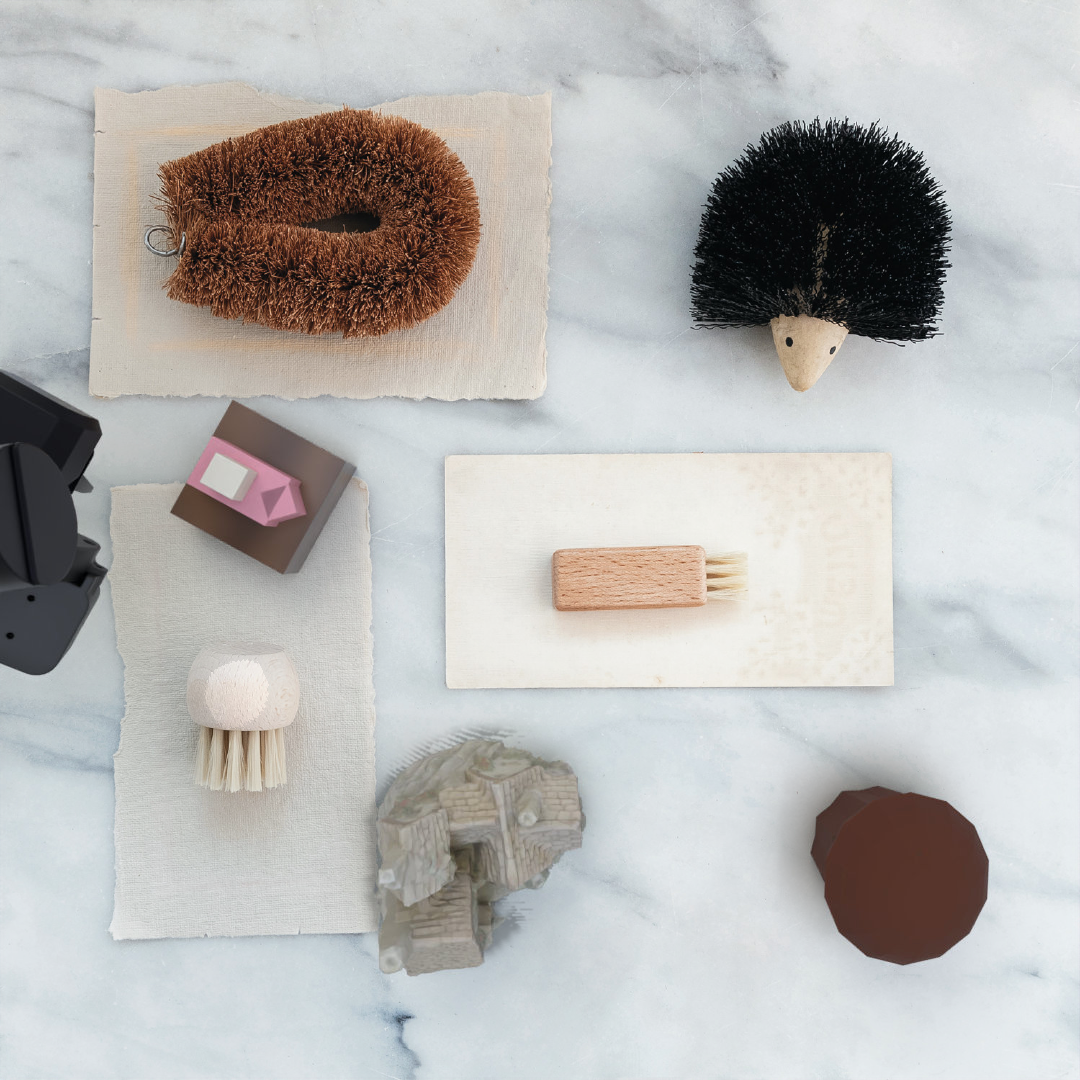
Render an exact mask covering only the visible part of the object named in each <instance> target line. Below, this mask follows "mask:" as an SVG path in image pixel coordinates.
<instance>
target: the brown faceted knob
mask: <svg viewBox="0 0 1080 1080" xmlns="http://www.w3.org/2000/svg"><path fill="white" fill-rule="evenodd" d="M814 830H815V831H814V838H813V841H812V846H811V849H810V855H811V857H812V860H813V861H814V863H815V865H816V868H817V869H818V872H819V874H820V876H821V878H822V881H823V882H824V891H823V898H824V900H825V903H826V905H827V907H828V910H829V913H830V915H831V917H832V920H833V922H834V924H835V927H836V929H837V931H838V933H839V934H840V935H841V936H842V937H844V938H845V939H846V940H847V941H848V942H849V943H850V944H852V945H853V946H854V947H855V948H856V949H857V950H859V951H860V952H861V953H862V954H864V955H865V957H867V958H871V959H876V960H879V961H882V962H887V963H891V964H895V965H899V966H901V967H902V966H908V965H912V964H917V963H921V962H925V961H929V960H934V959H939V958H941V957H943V956H944V955H945V954H947V953H948V952H949V951H951V949H952V948H953V947H955V946H956V945H957V944H959V943H960V942H961V941H962V940H964V939H965V938H966V937H967V936H968V935H970V934H971V932H972V930H973V928H974V926H975V924H976V922H977V920H978V918H979V916H980V915H981V912H982V911H983V908H984V906H985V905H986V902H987V900H988V897H989V896H988V895H989V894H988V893H989V870H990V859H989V857H988V855H987V852H986V850H985V848H984V845H983V842H982V840H981V838H980V836H979V833H978V830H977V828H976V826H975V824H974V823H972V822H971V821H970V820H969V819H967V818H966V816H964V814H962V813H961V812H960V811H958V809H957V808H955V807H954V806H953V805H951V804H950V802H948V801H947V800H944V799H940V798H936V797H932V796H928V795H924V794H920V793H916V792H913V791H908V792H900V791H898V790H893V789H890V788H886V787H883V786H879V785H876V786H872V787H871V786H870V787H867V788H863V789H855V790H842V791H840V793H839V794H838V796H837V797H836V798H835V799H834V800H833V802H831V804H830V805H829V806H828V807H826V808H825V809H824V810H823V811H821V812H819V814H818V815H817V816H816V817H815V829H814Z"/></svg>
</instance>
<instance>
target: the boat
mask: <svg viewBox="0 0 1080 1080" xmlns="http://www.w3.org/2000/svg"><path fill="white" fill-rule="evenodd" d="M186 483H187V484H189V485H191V486H193V487H195V488H196V489H198V490H200V491H202V492H204V493H205V494H207V495H209V496H211V497H213V498H215V499H216V500H218V501H220V502H222V503H224V504H226V505H227V506H229V507H231V508H233V509H235V510H236V511H238V512H240V513H242V514H244V515H246V516H247V517H249V518H251V519H253V520H255V521H257V522H258V523H260V524H262V525H264V526H271V527H277V525H278V524H279V522H282V521H286V520H289V519H293V518H296V517H300V516H303V515H306V514H307V513H306V510H305V506H304V503H303V499H302V496H301V492H300V489H299V486H300V484H301V481H299V480H297V479H295V478H293V477H292V476H290V475H288V474H286V473H284V472H282V471H281V470H279V469H277V468H275V467H273V466H271V465H270V464H268V463H266V462H264V461H262V460H261V459H259V458H257V457H255V456H253V455H251V454H250V453H248V452H246V451H244V450H242V449H240V448H239V447H237V446H235V445H233V444H231V443H230V442H228V441H226V440H223V439H220V438H217V437H215V436H213V435H211V438H210V439H209V441H208V442H207V444H206V446H205V447H204V450H203V451H202V454H201V455H200V457H199V459H198V461H197V463H196V465H195V466H194V468H193V470H192V471H191V473H190V475H189V477H188V478H187V481H186V482H185V484H186Z"/></svg>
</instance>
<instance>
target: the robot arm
mask: <svg viewBox="0 0 1080 1080" xmlns="http://www.w3.org/2000/svg"><path fill="white" fill-rule="evenodd" d="M102 436H103V431H102V428H101V424H100V420H99V419H98V418H95V417H94V416H92V415H90V414H88V413H87V412H85V411H83V410H81V409H79V408H78V407H75V406H74V405H72V404H70V403H68V402H67V401H65V400H63V399H61V398H59V397H57V396H56V395H54V394H52V393H50V392H48V391H46V390H44V389H43V388H41V387H40V386H38V385H36V384H34V383H32V382H30V381H28V380H27V379H24V378H23V377H21V376H19V375H17V374H15V373H13V372H10V371H7V370H4V369H2V368H0V665H3V666H5V667H7V668H11V669H12V670H16V671H18V672H21V673H23V674H26V675H30V676H44V675H46V674H49V673H51V672H52V671H53V670H55V668H56V667H57V666H58V665H59V664H60V663H61V661H62V660H63V659H64V658H65V656H66V655H67V653H68V652H69V651H70V649H71V647H72V646H73V645H74V643H75V641H76V639H77V637H78V635H79V633H80V632H81V630H82V628H83V626H84V625H85V623H86V622H87V619H88V618H89V616H90V614H91V612H92V610H93V609H94V607H95V605H96V604H97V602H98V600H99V598H100V595H101V585H102V583H103V582H104V580H105V578H106V576H107V574H108V573H109V569H108V567H107V568H106V567H105V566H104V565H101V564H99V563H98V562H97V559H96V558H97V556H98V554H99V552H100V550H101V548H102V547H101V545H100V543H99V542H97V541H96V540H94V539H92V538H90V537H88V536H86V535H83V534H81V533H79V528H78V527H79V526H78V525H79V524H78V515H77V511H76V507H75V503H74V499H73V494H74V493H75V492H77V493H79V494H91V493H92V492H93V490H94V485H93V484H92V483H91V482H90V481H89V479H88V478H87V477H86V476H85V475H84V474H85V472H86V471H87V469H88V467H89V466H90V463H91V462H92V460H93V458H94V456H95V449H96V447H97V445H98V443H99V442H100V440H101V438H102Z"/></svg>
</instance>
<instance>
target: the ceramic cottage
mask: <svg viewBox="0 0 1080 1080" xmlns="http://www.w3.org/2000/svg"><path fill="white" fill-rule="evenodd" d="M578 783H579V778H578V776H577V775H576V774H575V773H574V770H573V767H572V766H571V765H570V764H568V763H567V762H565V761H564V760H556V761H546V760H545V759H544V758H543V757H542V756H538V757H534V755H533V753H532V751H529V750H527V749H524V748H520V749H519V748H518V747H517V746H512V747H506V746H505V744H504V742H503V741H501V742H500V741H493V740H487V739H479V738H477V739H470V740H466V741H464V742H461V743H459V744H455V745H454V746H452V748H446V749H442V750H440V751H438V752H435V753H433V754H431V755H427V756H424V757H423V758H421V759H419V760H416V761H415V762H413V763H412V764H410V765H409V766H406V768H404V769H403V770H401V771H400V772H399V773H398V774H397V776H396V778H395V779H394V780H393V782H392V783H391V785H390V786H389V788H388V790H387V792H386V794H385V796H384V798H383V801H382V802H381V804H380V805H379V806H378V810H377V819H376V821H375V825H374V826H375V829H376V832H377V841H376V844H377V848H378V852H379V854H380V858H381V861H380V868H379V869H378V874H377V877H376V879H375V885H376V887H377V889H376V892H375V895H374V899H375V900H376V901H377V902H378V907H379V912H380V914H381V915H382V924H381V927H380V929H379V932H378V969H379V970H380V971H381V972H382V974H385V975H391V974H396V973H398V972H401V971H402V970H403V969H404V970H405V971H406V975H407V976H408V977H418V976H420V975H421V974H424V975H425V974H432V973H436V972H439V971H444V970H445V971H446V970H462V969H470V968H471V969H472V968H478V967H480V966H481V965H483V964H484V963H485V955H484V951H487V950H488V949H489V948H490V946H491V945H492V944H493V943H494V939H493V931H495V930H496V929H497V928H499V927H500V926H502V925H503V924H504V923H505V922H506V920H507V917H506V916H505V917H504V916H498V915H497V914H496V913H495V911H496V910H495V903H497V902H498V901H500V900H502V899H503V898H505V897H508V896H510V895H511V894H513V893H516V892H519V891H523V890H526V889H528V890H534V891H536V890H540V889H542V888H543V887H544V885H545V883H546V882H547V880H548V878H549V877H550V875H551V872H550V871H549V870H552V869H553V868H554V865H557V864H559V863H560V860H561V858H562V857H563V856H564V853H565V852H567V851H572V850H577V849H582V847H583V832H584V831H585V829H586V827H587V816H586V815H585V813H584V812H583V802H582V798H581V797H580V796H579V788H578V787H579V786H578Z"/></svg>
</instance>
